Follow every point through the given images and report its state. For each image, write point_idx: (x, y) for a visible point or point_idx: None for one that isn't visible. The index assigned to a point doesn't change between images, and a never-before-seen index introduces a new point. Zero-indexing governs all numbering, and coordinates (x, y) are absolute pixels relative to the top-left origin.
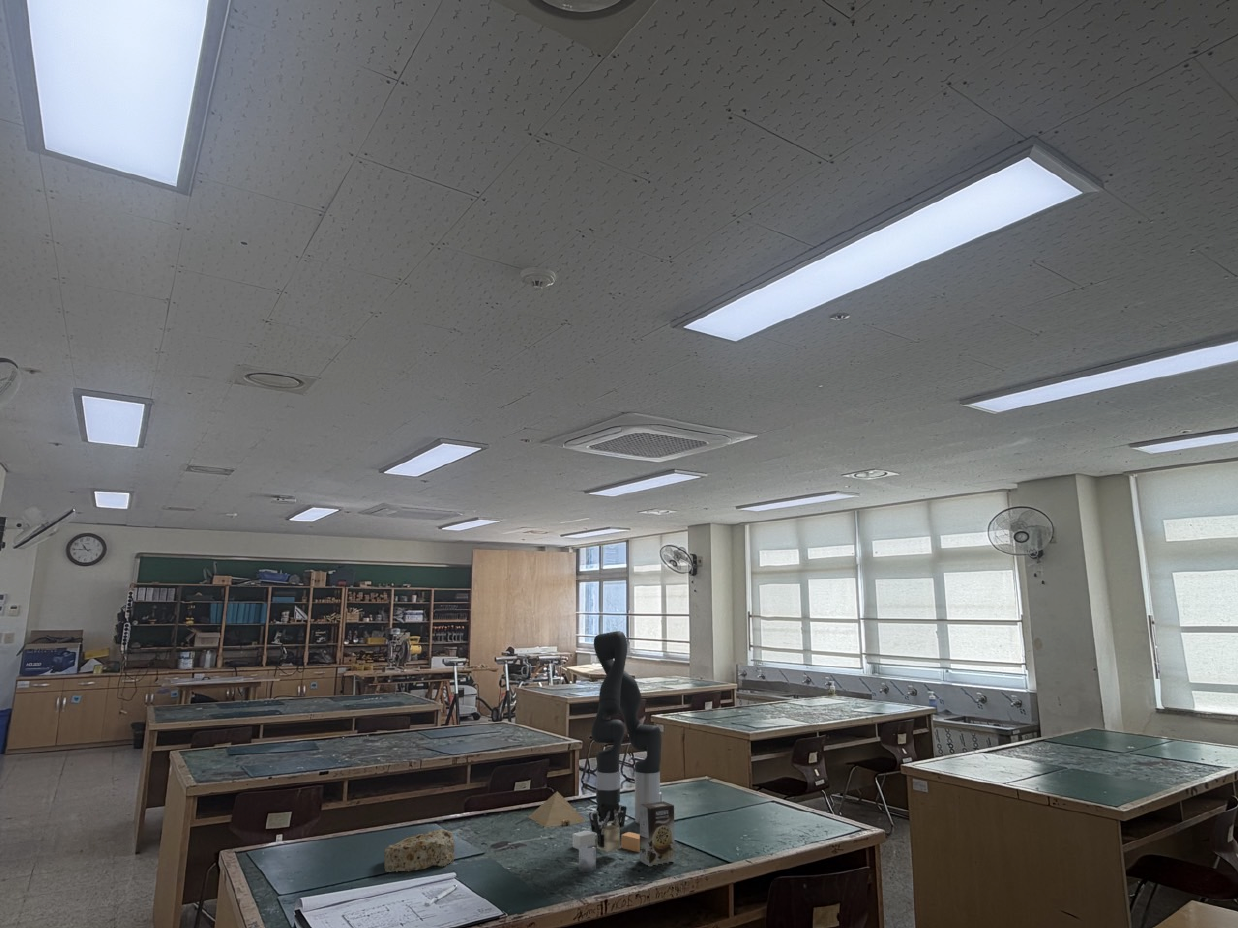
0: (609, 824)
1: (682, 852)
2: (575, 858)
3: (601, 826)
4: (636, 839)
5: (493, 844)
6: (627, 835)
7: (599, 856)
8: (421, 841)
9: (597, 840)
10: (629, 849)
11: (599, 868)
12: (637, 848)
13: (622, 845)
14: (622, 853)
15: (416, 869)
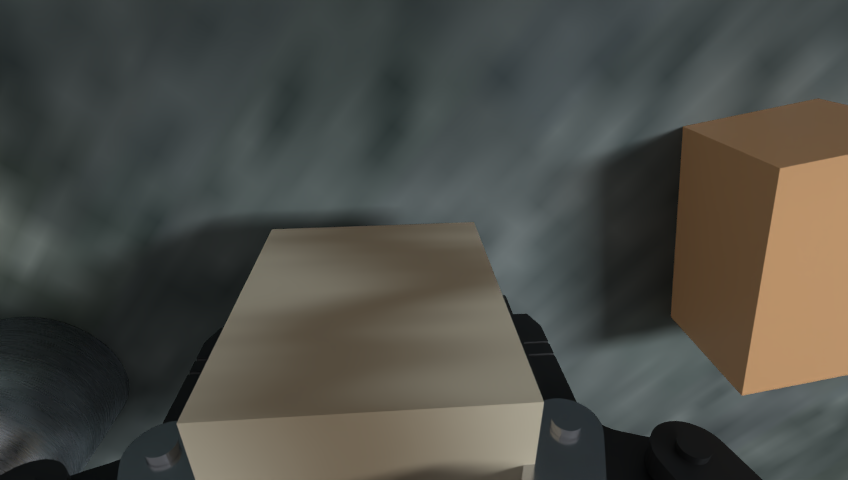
0: (516, 430)
1: (836, 470)
2: (34, 92)
3: (292, 439)
4: (737, 364)
5: None
6: (793, 239)
7: (316, 205)
8: None
9: (193, 370)
10: (678, 226)
11: (152, 419)
12: (686, 322)
13: (697, 147)
14: (547, 267)
15: None
